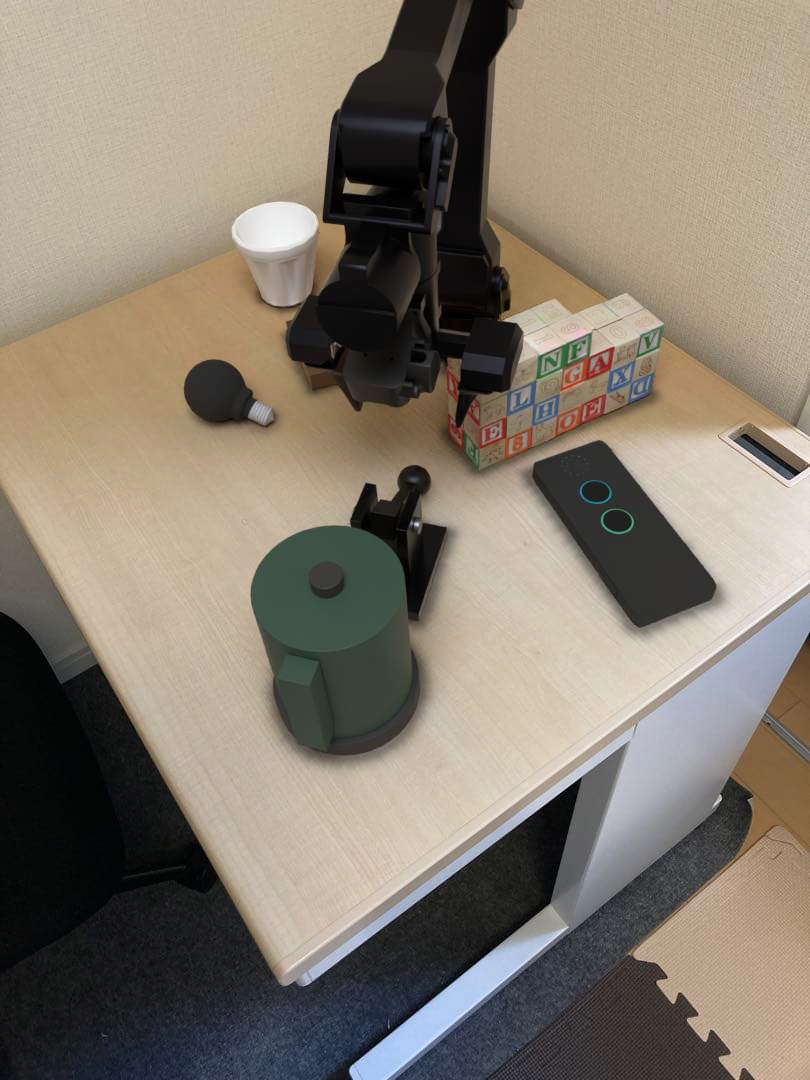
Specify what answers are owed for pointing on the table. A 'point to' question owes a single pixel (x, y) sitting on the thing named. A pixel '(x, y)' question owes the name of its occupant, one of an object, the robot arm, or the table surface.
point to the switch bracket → (407, 544)
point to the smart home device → (623, 533)
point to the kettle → (337, 638)
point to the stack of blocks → (560, 377)
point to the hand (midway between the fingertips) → (408, 416)
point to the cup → (279, 250)
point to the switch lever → (398, 501)
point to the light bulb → (222, 394)
